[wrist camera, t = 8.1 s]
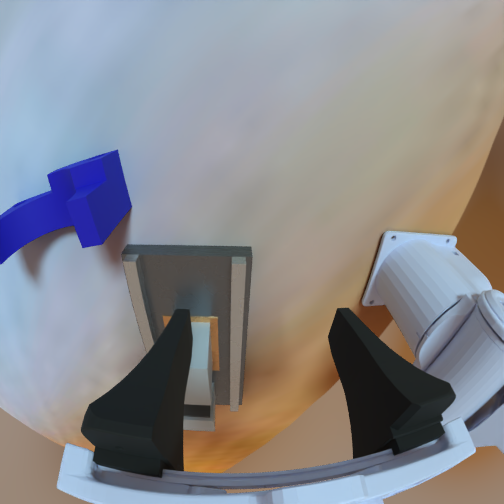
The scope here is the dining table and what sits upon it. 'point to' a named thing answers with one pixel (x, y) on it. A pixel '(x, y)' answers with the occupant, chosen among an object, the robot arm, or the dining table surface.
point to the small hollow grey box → (200, 415)
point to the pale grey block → (200, 366)
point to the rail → (196, 301)
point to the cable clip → (70, 205)
